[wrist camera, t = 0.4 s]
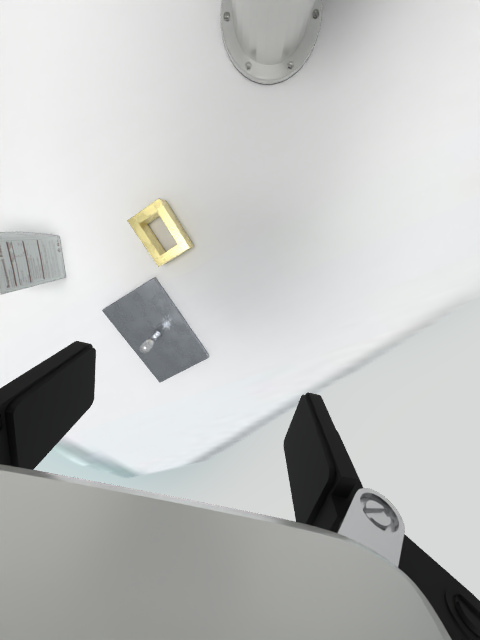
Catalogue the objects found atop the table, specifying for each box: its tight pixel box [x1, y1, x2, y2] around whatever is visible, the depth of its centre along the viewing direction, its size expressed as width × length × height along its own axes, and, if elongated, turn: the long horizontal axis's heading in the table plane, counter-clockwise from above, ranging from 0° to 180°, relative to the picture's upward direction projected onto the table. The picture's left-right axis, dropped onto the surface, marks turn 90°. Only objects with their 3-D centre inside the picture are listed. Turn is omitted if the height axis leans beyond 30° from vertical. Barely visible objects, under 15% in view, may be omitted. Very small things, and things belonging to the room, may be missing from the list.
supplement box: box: [0, 232, 66, 295], centre depth 37 cm, size 7×7×13 cm
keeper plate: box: [102, 278, 209, 382], centre depth 44 cm, size 18×12×7 cm, turn 30°
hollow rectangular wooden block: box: [127, 199, 193, 267], centre depth 39 cm, size 8×6×4 cm
